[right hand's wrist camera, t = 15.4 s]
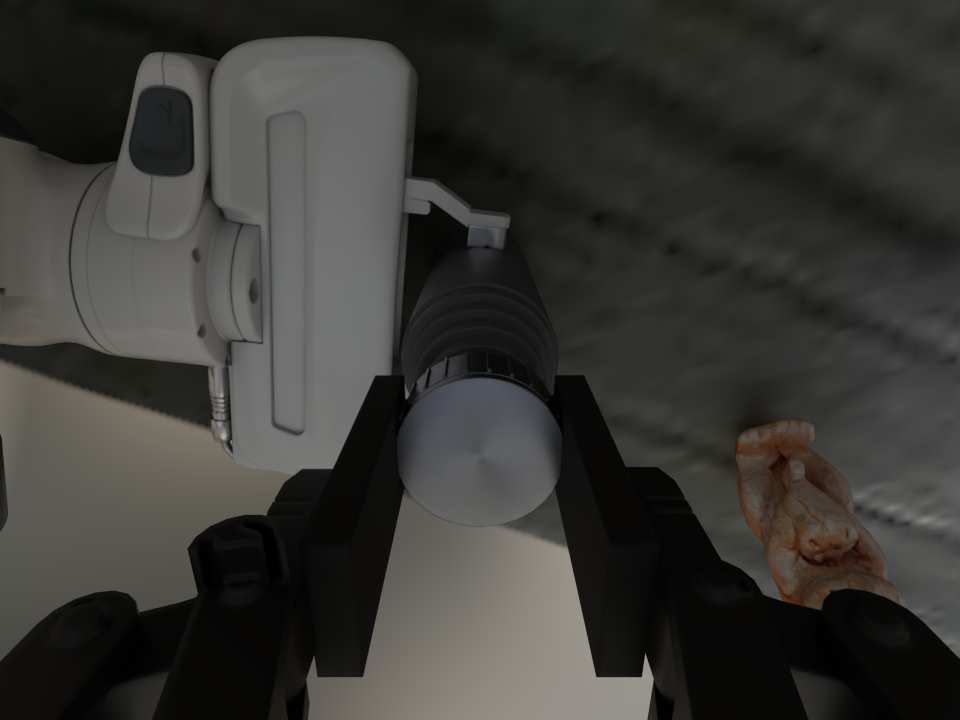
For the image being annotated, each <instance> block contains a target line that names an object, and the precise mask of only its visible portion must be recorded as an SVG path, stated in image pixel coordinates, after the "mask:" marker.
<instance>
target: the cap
mask: <svg viewBox="0 0 960 720" xmlns="http://www.w3.org/2000/svg"><path fill="white" fill-rule="evenodd" d="M559 419H560V414H559V411H558V408H557V404H556V401H555V398H554V395H552V396H551V394H550V392H549V390H548V389H547V387H546V384H545V381H544V379H540V378H539V377H538V376H537V375H536V374H535V373H534V372H533V371H532V370H530V367H529V366H528V365H527V366H525V365H523V364H522V363H520V362H518V361H516V360H514V359H512V358H511V356H508V357H506V356H502V355H499V354H493V353H490V351H487V353H481V352H477V353H469V352H465V354H462V355H457V356H454V357H451V358H448V357H447V358H445V360H444V361H442V362H440V363H438V364H436V365H435V366H433V367H432V368H427V370H426V373H425V374H423V375H422V376H421V377H420V379H419V380H418V381H417V382H414V383H413V385H412V389H411V391H410V393H409V396H408V398H407V399H406V398H405V399H404V402H403V406H402V409H401V413H400V416H399V419H398V422H400V425H399V428H398V432H397V453H398V469H399V477H400V479H401V482H402V484H403V486H404V487H405V489H406V490H407V492H408V493H409V494H410V496H411V497H412V498H413V499H414V500H415V501H416V502H417V503H418V504H419V505H420V506H422V507H423V508H424V509H425V510H427V511H428V512H430V513H431V514H433V515H435V516H437V517H439V518H441V519H443V520H446V521H449V522H452V523H456V524H460V525H466V526H477V527H484V526H494V525H500V524H504V523H507V522H511V521H514V520H516V519H518V518H521V517H523V516H525V515H526V514H528V513H530V512H531V511H533V510H534V509H535V508H537V507H538V506H539V505H540V504H542V503H543V502H544V501H545V500H546V499H547V497H548V496H549V495H550V494H551V493H552V491H553V490H554V488H555V486H556V485H557V483H558V481H559V479H560V474H561V458H562V441H563V432H562V429H561V425H560V422H559Z"/></svg>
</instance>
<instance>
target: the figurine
mask: <svg viewBox="0 0 960 720" xmlns="http://www.w3.org/2000/svg"><path fill="white" fill-rule="evenodd" d="M814 438H815V433H814V425H812V424H810V423H808V422H806V421H805V420H801V419H784V420H780V421H777V422H773V423H769V424H766V425H762V426H758V427H753V428H749V429H746V430H744V431H743V432H742V433H740V434H739V436H738V438H737V439H736V447H735V456H736V462H737V464H738V494H739V499H740V506H741V509H742V511H743V514H744V517H745V519H746V521H747V523H748V525H749V527H750V528H751V530H752V531H753V533H754V534H755V536H757V537H758V538H759V539H760V540H761V541H762V542H763V544H764V547H765V552H766V557H767V563H768V566H769V568H770V571H771V573H772V576H773V578H774V580H775V582H776V584H777V587H778V590H779V592H780V595H781V597H782V600H783V601H784V602H789V603H793V604H797V605H801V606H806V607H810V608H814V609H818V610H821V607H822V604H823V600H824V598H825V597H827V596H828V595H829V594H830V593H831V592H832V591H836V590H840V589H845V588H848V589H858V590H866V591H869V592H872V593H875V594H878V595H881V596H884V597H886V598H888V599H890V600H892V601H894V602H896V603H898V604H899V605H901V606H903V607H905V608H907V607H906V602H905V600H904V598H903V597H902V595H901V593H900V592H899V590H898V589H897V588H896V587H895V586H894V585H893V584H892V583H890V582H889V581H888V576H887V571H888V569H887V560H886V558H885V556H884V554H883V552H882V550H881V548H880V547H879V545H878V544H877V542H876V541H875V540H874V538H873V537H872V536H871V534H870V533H869V532H868V531H867V530H866V529H865V528H864V527H862V526H861V525H860V523H859V521H858V520H857V519H856V518H855V517H854V516H853V511H854V510H853V497H852V493H851V490H850V486H849V484H848V482H847V480H846V478H845V477H844V476H843V475H842V474H841V473H840V472H839V471H838V470H837V469H836V468H835V467H834V466H833V465H832V464H830V463H829V462H828V461H826V460H825V459H823V458H822V457H820V456H819V455H818V454H816V453H815V452H814V451H812V450H811V449H810V448H809V447H810V446H811V444H812V442H813V440H814Z"/></svg>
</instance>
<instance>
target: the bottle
mask: <svg viewBox="0 0 960 720" xmlns="http://www.w3.org/2000/svg"><path fill="white" fill-rule="evenodd" d="M468 230H469V228H467V229H464V230H461V231H459V232H457V233H455V234H454V235H452V236H451V237H450V238H448V239H447V240H446V241H445V242H444V243H443V245H442V246H441V247H440V249H439V251H438V253H437V255H436V257H435V259H434V262H433V264H432V267H431V269H430V272H429V274H428V277H427V279H426V282H425V284H424V287H423V289H422V292H421V294H420V297H419V299H418V302H417V304H416V307H415V309H414V311H413V314H412V316H411V319H410V321H409V324H408V326H407V329H406V332H405V334H404V338H403V342H402V350H401V361H402V370H403V375H404V377H405V385H406V388H407V391H408V393H410V391H411V389H412V385H413V383H414V382H417V381H418V380H419V379H420V377H421V376H422V375H423V374H425V373H426V370H427V368H432V367H433V366H435V365H436V364H438V363H440V362H442V361H444V360H445V358H447V357H448V358H451V357H454V356H457V355H462V354H465V352H469V353H477V352H481V353H487V351H490V353H493V354H499V355H502V356H506V357H508V356H511V358H512V359H514V360H516V361H518V362H520V363H522V364H523V365H525V366H527V365H528V366H529V367H530V370H532V371H533V372H534V373H535V374H536V375H537V376H538V377H539V378H540V379H544V381H545V384H546V387H547V389H548V390H549V392H550V394H551V392H552V390H553V387H554V383H555V375H557V367H558V357H559V353H558V343H557V339H556V335H555V332H554V330H553V327H552V324H551V322H550V320H549V317H548V315H547V312H546V310H545V307H544V305H543V302H542V300H541V297H540V295H539V292H538V290H537V287H536V285H535V282H534V280H533V277H532V275H531V272H530V270H529V268H528V265H527V263H526V260H525V258H524V255H523V253H522V251H521V249H520V248H519V246H518V245H517V244H516V243H515V242H514V241H513V240H512V239H511V238H510V237H509V236H508V239H507V245H506V250H495V249H491V248H490V247H489V246H488V245H487V246H485V247H483V248H476V247H469V246H467V241H468Z"/></svg>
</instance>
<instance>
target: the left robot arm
mask: <svg viewBox="0 0 960 720" xmlns="http://www.w3.org/2000/svg"><path fill="white" fill-rule="evenodd" d="M417 91H418V75H417V73H416V71H415V69H414V67H413V66H412V64H411V63H410V61H409V60H408V59H407V58H406V56H405V55H404V54H403V53H402V52H401V51H400V50H399V49H398V48H397V47H395V46H393V45H392V44H389V43H387V42H382V41H377V40H369V39H360V38H347V37H324V36H299V37H277V38H265V39H258V40H253V41H249V42H246V43H243V44H240V45H238V46H236V47H234V48H233V49H231V50H230V51H228V52H227V53H226V54H225V55H224V56H223V57H222V58H221V60H220V61H217V60H214V59H210V58H207V57H203V56H198V55H192V54H186V53H176V52H156V53H151V54H149V55H147V56H146V57H145V58H144V59H143V61H142V63H141V65H140V67H139V70H138V73H137V77H136V82H135V87H134V92H133V97H132V102H131V107H130V111H129V116H128V121H127V125H126V130H125V134H124V138H123V142H122V146H121V150H120V154H119V158H118V161H115V162H107V163H99V164H87V165H85V164H75V163H71V162H68V161H65V160H63V159H61V158H58V157H56V156H54V155H51V154H48V153H45V152H41V151H39V150H38V147H39V146H40V145H39V144H38V142H37V141H36V140H35V139H34V138H33V136H32V135H31V134H30V133H29V132H28V131H27V130H26V129H25V128H24V127H23V126H22V125H21V124H20V123H19V122H18V121H16V120H15V119H14V118H13V117H12V116H11V115H10V114H9V113H7V112H6V111H5V110H4V109H3V108H1V107H0V343H3V344H11V345H22V346H43V345H49V344H55V343H60V342H73V343H79V344H83V345H85V346H88V347H90V348H92V349H95V350H98V351H100V352H103V353H106V354H111V355H116V356H122V357H131V358H141V359H150V360H159V361H168V362H180V363H189V364H197V365H206V366H207V374H208V388H209V395H210V399H211V404H212V416H211V431H212V435H213V438H214V440H215V441H217V442H221V444H222V447H223V449H224V450H225V452H226V453H227V454H228V455H229V456H230V457H231V458H232V459H233V460H234V462H235V463H236V464H238V465H240V466H243V467H246V468H253V469H263V470H274V471H278V472H281V473H285V474H289V475H292V476H294V475H295V474H296V473H297V472H299V471H300V470H301V469H333V467H334V465H335V463H336V461H337V458H338V456H339V454H340V452H341V450H342V448H343V445H344V443H345V441H346V439H347V437H348V434H349V432H350V430H351V428H352V426H353V423H354V421H355V419H356V417H357V415H358V412H359V410H360V408H361V406H362V404H363V401H364V399H365V397H366V395H367V393H368V390H369V388H370V386H371V384H372V382H373V379H374V377H375V375H403V370H402V361H399V349H400V334H401V320H402V306H403V291H404V277H405V263H406V248H407V234H408V220H409V213H415V214H424V215H427V214H428V213H429V212H430V211H431V210H432V209H433V207H434V203H435V204H436V205H437V206H439V207H440V208H442V209H443V210H444V211H446V212H447V213H448V214H450V215H451V216H452V217H454V218H455V219H457V220H458V221H459V222H461V223H462V224H463V225H465V226H466V227H467V228H468V225H469V230H468V241H467V246H469V247H476V248H483V247H485V246H487V245H488V246H489V247H490V248H491V249H495V250H506V245H507V239H508V232H509V225H510V218H511V217H510V214H506V213H502V212H495V211H486V210H478V209H471V205H469V204H468V203H467V202H465V201H464V200H463V199H461V198H460V197H459V196H458V195H456V194H455V193H454V192H452V191H451V190H450V189H448V188H447V187H446V186H445V185H443V184H442V183H441V182H439V181H438V180H437V179H431V178H423V177H415V176H412V163H413V148H414V134H415V120H416V105H417ZM405 396H406V399H407V398H408V396H409V393H408V391H407V388H406V385H405ZM231 440H232V443H233V447H232V446H231V444H230V441H231ZM7 517H8V505H7V494H6V482H5V470H4V459H3V447H2V438H1V435H0V531H1V530H2V528H3V527H4V525H5V523H6V520H7Z"/></svg>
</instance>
